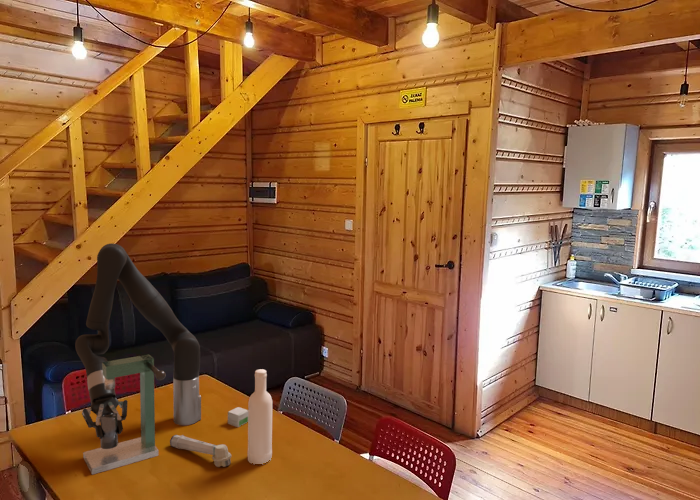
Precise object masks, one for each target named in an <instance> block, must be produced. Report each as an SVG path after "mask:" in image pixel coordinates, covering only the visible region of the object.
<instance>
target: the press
mask: <svg viewBox="0 0 700 500" xmlns="http://www.w3.org/2000/svg"><path fill="white" fill-rule="evenodd" d="M102 373H103V376H104V383H105V389H106V390H111V389H114V390H115V388H116V378H120V377H121V378H122V377H125V376H130V375H131V376H132V375H136V374H139V387H140V389H139V391H140V392H139V393H140V395H139V396H140V397H139V398H140V400H139V401H140V437H139V436H138V437H136V438H133V439H129V440H125V441H121V442H118V445H117V446H116V447H114V448H111V449H102V448H101V447H98V448H95V449H91V450H87V451H84V452H82V454H83V455H82V456H83V460H84V462H85V464H86V465H87V468H88V470H89V472H90V474H91V475H96V474H99V473H102V472H107V471H110V470H115V469H117V468H121V467H124V466H127V465H131V464H133V463H138V462H141V461H144V460H147V459H151V458H155V457H158V456H159V449H158V447H157V445H156V430H155V429H156V428H155V427H156V426H155V425H156V424H155V423H156V420H155V418H156V417H155V414H156V413H155V412H156V411H155V379H156V380H157V381H162V380H164V379H165V378H166V376H167V374H166V372H165V371H164V370H163V369H162V370H161V369H160V370H159V369H158V368H157V367H156V365H155V358H154V357H153V356H152V355H150V354H144V355H138V356H133V357H132V356H131V357H126V358H120V359H114V360H107V362H102Z"/></svg>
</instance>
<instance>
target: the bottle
mask: <svg viewBox="0 0 700 500" xmlns="http://www.w3.org/2000/svg"><path fill="white" fill-rule="evenodd" d="M267 377H268V374H267V370H266V369H263V368H262V369H261V368H260V369H256V370H255V371H254V391H253V393H251V395H250V396H249V398H248V404H247V405H248V407H247V408H248V409H247V410H248V423H247V424H248V425H247V462H249V463H250V464H252V463H253V464H252V465H255V464H262V465H264V464H263V463H266V462H268V461H269V460H270V461H271V460H272V459H271V458H272V456H273V444H272V443H273V399H272V398H273V397H272V396H271V394H270V393H269V392H268V391H267ZM270 461H269V462H270ZM269 462H268V463H269ZM266 464H267V463H266Z"/></svg>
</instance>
